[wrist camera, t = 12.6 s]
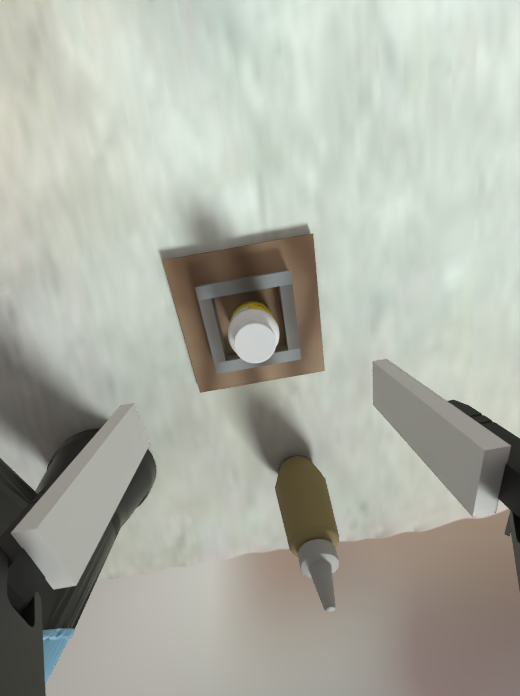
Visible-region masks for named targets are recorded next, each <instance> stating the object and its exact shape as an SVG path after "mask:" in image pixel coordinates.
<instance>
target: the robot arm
mask: <svg viewBox="0 0 520 696" xmlns="http://www.w3.org/2000/svg"><path fill="white" fill-rule="evenodd" d="M373 405H374V406H375V407H376V408H377V410H378V411H379V412H380V413H381V414H382V415H383V416H384V417H385V419H386V420H387V421H388V422H389V423H390V424H391V425H392V426H393V428H394V429H395V430H396V431H397V432H398V433H399V434H400V436H401V437H402V438H403V439H404V440H405V441H406V442H407V443H408V445H409V446H410V447H411V448H412V449H413V450H414V451H415V452H416V454H417V455H418V456H419V457H420V458H421V459H422V460H423V462H424V463H425V464H426V465H427V466H428V467H429V468H430V469H431V471H432V472H433V473H434V474H435V475H436V476H437V477H438V478H439V480H440V481H441V482H442V483H443V484H444V485H445V486H446V488H447V489H448V490H449V491H450V492H451V493H452V494H453V495H454V497H455V498H456V499H457V500H458V501H459V502H460V503H461V504H462V506H463V507H464V508H465V509H466V510H467V511H468V512H469V514H470V515H471V516H472V517H475V516H481V515H487V514H493V513H496V510H497V506H498V501H499V499H500V500H501V501H502V502H503V503H504V504H505V505H506V506H507V507H508V508H509V509H510V515H509V518H508V522H507V526H506V530H505V535H508V536H510V533H511V536H512V542H513V549H514V556H515V563H516V569H517V576H518V583H519V589H520V438H518V437H517V436H515V435H513V434H512V433H510V432H509V431H507V430H506V429H504V428H503V427H501V426H500V425H498V424H497V423H495V422H492V420H490V419H489V418H487V417H486V416H484V415H483V416H482V414H481V413H480V412H478V411H477V410H475V409H473V408H472V407H470V406H469V405H466V404H463V403H461V402H458V401H456V400H450V401H446V400H445V399H443V398H442V397H441V396H439V395H438V394H436V393H435V392H433V391H432V390H430V389H429V388H428V387H426V386H425V385H423V384H422V383H420V382H419V381H418V380H416V379H415V378H413V377H412V376H410V375H409V374H408V373H406V372H405V371H403V370H402V369H400V368H399V367H398V366H396V365H395V364H393V363H392V362H390V361H389V360H387V359H383V360H377V361H373ZM149 445H150V442H149V439H148V437H147V434H146V432H145V429H144V427H143V424H142V422H141V419H140V417H139V414H138V412H137V409H136V407H135V404H134V403H133V404H128V405H122V406H120V407H119V408H118V409H117V410H116V411H115V413H114V414H113V415H112V416H111V417H110V418H109V419H108V421H107V422H106V423H105V424H104V425H103V426H102V428H101V429H95V430H88V431H84V432H81V433H78V434H76V435H74V436H72V437H71V438H69V439H68V440H67V441H66V442H65V443H64V444H63V445H62V446H61V447H60V448H59V449H58V450H57V451H56V452H55V454H54V455H53V456H52V458H51V460H50V462H49V464H48V467H47V471H46V473H45V475H44V477H43V478H42V480H41V482H40V484H39V486H38V487H37V489H36V491H34V490H33V489H32V488H31V487H30V486H29V485H28V484H27V483H26V482H25V481H24V480H23V479H22V478H20V477H19V476H18V475H17V474H16V473H15V472H14V471H13V470H12V469H11V468H10V467H9V466H8V465H7V464H6V463H5V462H4V461H3V460H2V459H1V458H0V696H46V695H45V684H46V682H47V680H48V679H49V676H50V675H51V673H52V671H53V669H54V667H55V665H56V663H57V661H58V659H59V657H60V655H61V653H62V652H63V649H64V648H65V646H66V644H67V642H68V640H69V639H71V637H72V636H73V633H74V631H75V630H74V629H75V627H76V625H77V623H78V620H79V618H80V616H81V614H82V611H83V609H84V607H85V605H86V603H87V600H88V598H89V596H90V594H91V592H92V590H93V587H94V585H95V583H96V581H97V579H98V576H99V574H100V572H101V570H102V568H103V565H104V563H105V561H106V559H107V556H108V554H109V552H110V550H111V548H112V545H113V543H114V541H115V539H116V537H117V535H118V532H119V530H120V528H121V527H122V526H123V525H124V523H125V522H126V521H127V520H128V518H129V517H130V516H131V514H132V513H133V512H134V510H135V509H136V508H137V507H138V506H139V505H140V504H142V502H143V501H144V500H145V499H146V498H147V496H148V494H149V492H150V490H151V488H152V486H153V483H154V481H155V478H156V465H155V461H154V459H153V457H152V455H151V454H150V452H149V451H148V450H147V449H148V447H149Z"/></svg>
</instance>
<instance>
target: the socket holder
mask: <svg viewBox="0 0 520 696" xmlns="http://www.w3.org/2000/svg"><path fill="white" fill-rule="evenodd" d="M162 261H163V264H164V268H165V271H166V275H167V278H168V282H169V285H170V289H171V292H172V296H173V299H174V303H175V306H176V310H177V313H178V317H179V320H180V324H181V327H182V331H183V334H184V338H185V341H186V345H187V348H188V352H189V355H190V359H191V362H192V366H193V369H194V373H195V376H196V380H197V383H198V387H199V390H200V393H201V392H206V391H212V390H218V389H223V388H229V387H235V386H240V385H246V384H252V383H258V382H263V381H269V380H275V379H280V378H286V377H292V376H298V375H303V374H309V373H315V372H320V371H325V369H324V357H323V345H322V334H321V322H320V310H319V298H318V286H317V275H316V263H315V251H314V239H313V234H308V235H302V236H297V237H291V238H285V239H280V240H274V241H269V242H263V243H257V244H252V245H246V246H241V247H235V248H229V249H224V250H218V251H213V252H207V253H201V254H196V255H190V256H185V257H179V258H173V259H168V260H162ZM247 301H258V302H261V303H263V304H264V305H265V306H267V307H268V309H269V310H270V311H271V313H272V315H273V317H274V319H275V321H276V322H277V325H278V328H279V341H278V344H277V346H276V348H275V351H274V353H273V354H272V356H271V357H270V358H269V359H267V360H266V361H264V362H261V363H249V362H246V361H244V360H242V359H241V358H240V357H239V356H238V355H237V353H236V352H235V351H234V350H233V349H232V347H231V345H230V343H229V339H228V329H229V325H230V321H231V317H232V314H233V312H234V310H235V309H236V308H237V307H238V306H239V305H240V304H242V303H244V302H247Z"/></svg>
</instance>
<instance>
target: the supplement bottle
mask: <svg viewBox="0 0 520 696" xmlns="http://www.w3.org/2000/svg"><path fill="white" fill-rule="evenodd" d="M228 339H229V343H230V345H231V347H232V349H233V350H234V351H235V352H236V353H237V355H238V356H239V357H240V358H241V359H242V360H244V361H246V362H249V363H261V362H264V361H266V360H267V359H269V358H270V357H271V356H272V354H273V353H274V351H275V348H276V346H277V344H278V341H279V328H278V325H277V322H276V321H275V319H274V317H273V315H272V313H271V311H270V310H269V309H268V307H267V306H265V305H264V304H263V303H261V302H258V301H247V302H244V303H242V304H240V305H239V306H238V307H237V308H236V309H235V310H234V312H233V314H232V317H231V321H230V325H229V329H228Z"/></svg>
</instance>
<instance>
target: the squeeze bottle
mask: <svg viewBox="0 0 520 696" xmlns="http://www.w3.org/2000/svg"><path fill="white" fill-rule="evenodd" d="M275 490H276V494H277V499H278V503H279V507H280V511H281V515H282V519H283V523H284V528H285V532H286V536H287V540H288V544H289V548H290V550H291V551H292V553H293V554H294V555H296V556H298V558H299V563H300V569H301V572H302V573H303V574H304V575H305V576H307V577H309V578H312V579H313V582H314V584H315V587H316V589H317V592H318V594H319V597H320V600H321V602H322V604H323V607H324V610H325V611H327V612H331V611H334V610H335V608H336V607H335V597H334V587H333V577H332V574H333V573H334V572H335V571H336V570H337V568H338V566H339V559H338V556H337V553H336V550H335V548H336V547H337V545H338V542H339V534H338V530H337V526H336V522H335V518H334V513H333V509H332V505H331V501H330V497H329V493H328V489H327V484H326V480H325V478H324V477H323V475H322V474H321V472H320V471H319V470H318V469H317V468H316V467H315V465H314V464H313V463H312V462H311V461H310V459H308V458H306V457H303V456H294V457H290V458H288V459H286V460H285V461H284V462H283V463H282V464H281V466H280V469H279V473H278V478H277V482H276V486H275Z"/></svg>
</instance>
